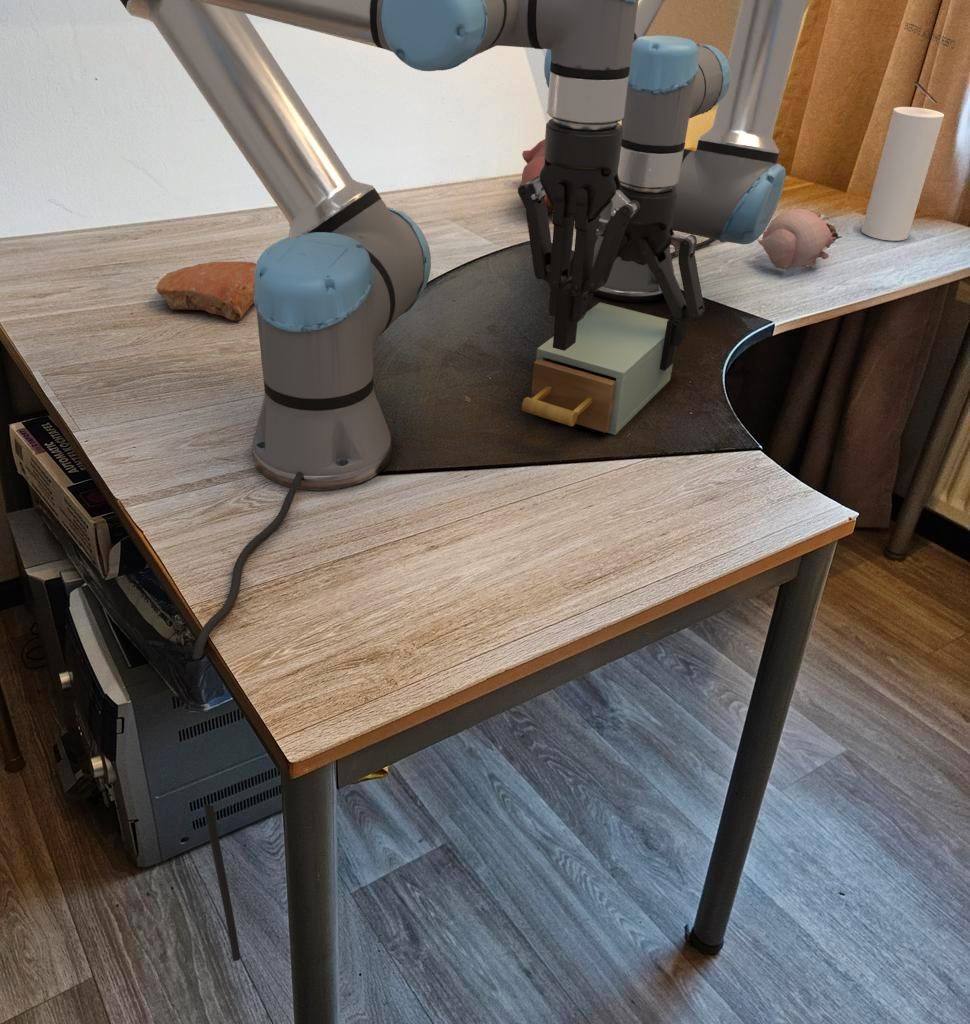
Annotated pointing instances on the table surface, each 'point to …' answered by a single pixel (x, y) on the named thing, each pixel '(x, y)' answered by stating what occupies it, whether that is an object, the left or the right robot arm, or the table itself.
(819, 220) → the toy
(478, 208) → the table surface
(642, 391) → the cabinet
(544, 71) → the right robot arm
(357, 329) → the left robot arm
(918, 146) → the tall white tube
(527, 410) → the drawer
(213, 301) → the ceramic shard
